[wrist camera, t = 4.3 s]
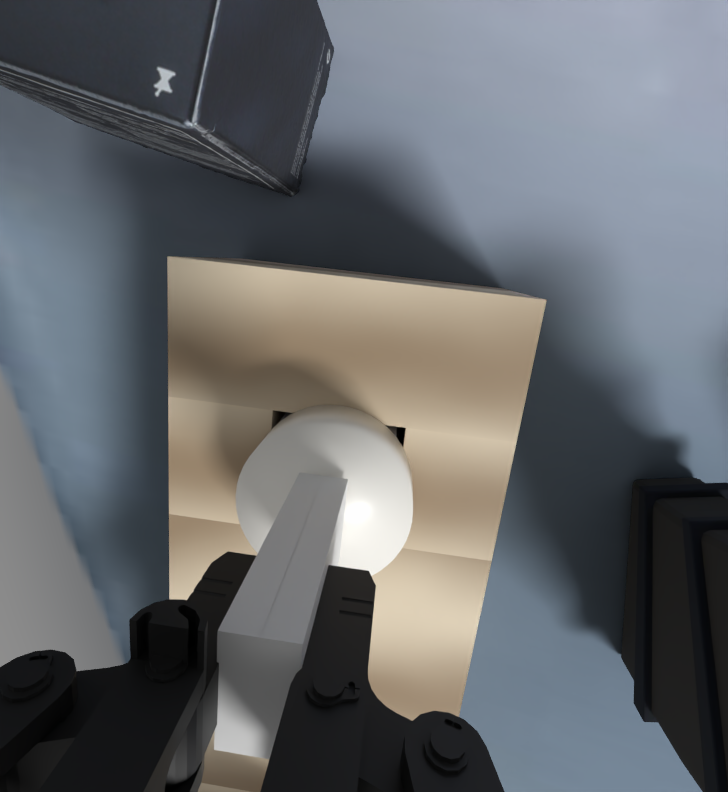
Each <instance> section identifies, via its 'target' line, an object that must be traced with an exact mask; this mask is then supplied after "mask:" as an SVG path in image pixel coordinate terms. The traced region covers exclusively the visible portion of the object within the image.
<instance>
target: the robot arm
mask: <svg viewBox="0 0 728 792" xmlns="http://www.w3.org/2000/svg"><path fill="white" fill-rule="evenodd" d="M347 485H348V479H344V478H337V477H329V476H322V475H315V474H308V473H299V475H298V477H297V478H296V480H295V482H294V484H293V486H292V488H291V490H290V492H289V494H288V496H287V498H286V500H285V502H284V504H283V506H282V507H281V509H280V511H279V513H278V515H277V517H276V519H275V521H274V523H273V525H272V527H271V529H270V531H269V533H268V534H267V536H266V538H265V540H264V542H263V544H262V546H261V548H260V550H259V552H258V554H257V556H256V555H249V554H242V553H235V552H229V551H228V552H226V553H225V554H223V555H222V556H220V557H219V558H218V559H216V560H215V561H213V562H212V563H211V564H210V566H209V567H208V569H207V570H206V572H205V573H204V575H203V576H202V579H201V580H200V581H199V582H198V584H197V585H196V587H195V588H194V591H193V593H191V595H190V596H189V598H188V599H187V600H181V599H169V600H165V601H160V602H156V603H153V604H151V605H149V606H147V607H145V608H143V609H141V610H140V611H139V612H138V613H136V614H135V615H134V616H133V617H132V618H131V619H130V651H131V659H130V660H129V662H128V663H126V664H123V665H120V666H115V667H110V668H102V669H94V670H85V671H76V667H75V663H74V659H73V658H71V657H70V656H69V655H68V654H66V653H65V652H60V651H55V650H45V651H35V652H32V653H29V654H26V655H23V656H20V657H17V658H15V659H13V660H12V661H10V662H8V663H7V664H5V665H3V666H2V667H0V792H198V790H199V787H200V784H201V782H202V777H203V772H204V760H205V752H206V750H207V747H208V745H209V743H210V740H211V738H212V735H213V733H214V730H215V735H214V750H218V751H224V752H230V753H236V754H242V755H247V756H253V757H259V758H265V759H269V763H268V766H267V770H266V773H265V777H264V780H263V784H262V788H261V791H260V792H504V790H503V787H502V785H501V782H500V780H499V777H498V775H497V772H496V770H495V767H494V765H493V762H492V760H491V757H490V755H489V752H488V750H487V747H486V745H485V744H484V742H483V740H482V739H481V737H480V735H479V734H478V732H477V731H476V730H475V729H474V728H473V727H472V726H471V725H470V724H468V723H467V722H466V721H465V720H464V719H462V718H460V717H458V716H455V715H453V714H451V713H449V712H441V711H431V712H427V713H423V714H420V715H419V716H418V717H417V718H415V719H414V720H413V721H412V720H410V719H408V718H406V717H404V716H402V715H400V714H397V713H396V712H394V711H393V710H391V709H389V708H388V707H386V706H385V705H384V704H383V703H382V702H381V701H380V700H379V699H378V698H377V697H376V695H375V693H374V692H373V690H372V689H371V686H370V683H369V680H368V663H369V653H370V642H371V632H372V622H373V611H374V601H375V590H376V585H375V583H374V581H373V579H372V576H371V574H370V572H369V571H367V570H360V569H353V568H346V567H340V566H338V562H339V558H340V550H341V540H342V531H343V522H344V513H345V504H346V494H347Z"/></svg>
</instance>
